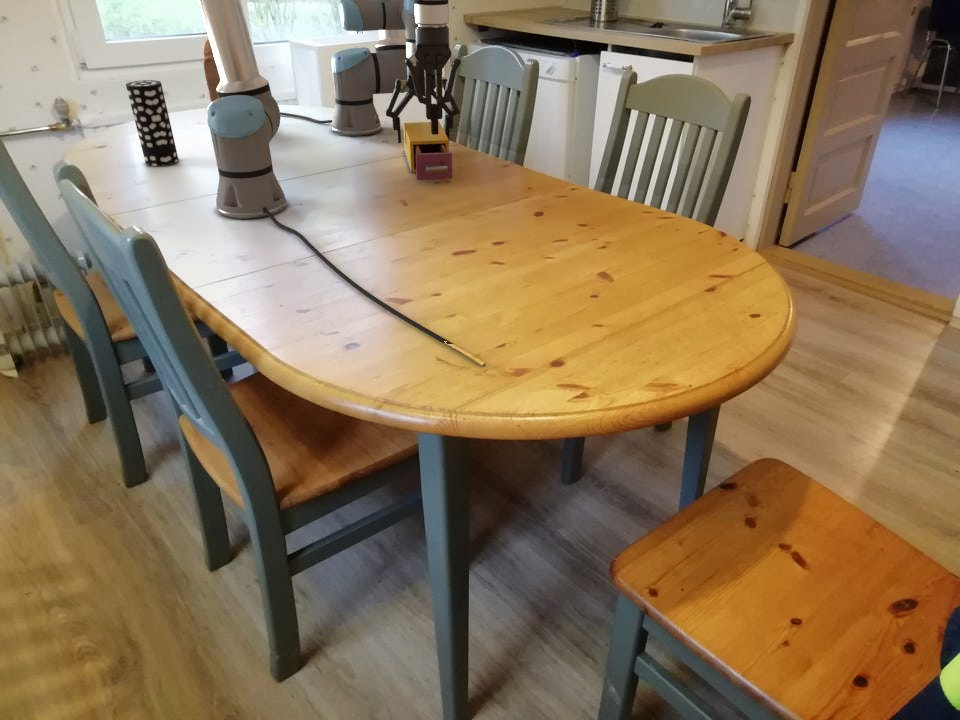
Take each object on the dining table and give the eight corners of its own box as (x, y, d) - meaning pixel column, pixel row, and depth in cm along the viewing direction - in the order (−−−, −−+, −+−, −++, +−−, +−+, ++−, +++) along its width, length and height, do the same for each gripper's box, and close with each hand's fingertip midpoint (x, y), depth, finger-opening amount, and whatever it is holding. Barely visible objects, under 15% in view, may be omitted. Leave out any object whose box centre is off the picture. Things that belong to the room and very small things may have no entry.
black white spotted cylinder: (184, 157, 190) (167, 80, 179) (169, 166, 183) (151, 87, 172) (155, 156, 190) (136, 79, 179) (139, 165, 183) (119, 86, 172)
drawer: (455, 185, 170) (455, 159, 167) (419, 186, 169) (418, 161, 166) (442, 157, 190) (442, 134, 186) (410, 159, 188) (409, 135, 185)
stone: (257, 139, 205) (240, 35, 190) (217, 142, 202) (197, 37, 187) (254, 125, 222) (238, 28, 208) (217, 127, 219) (198, 30, 205)
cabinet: (449, 171, 183) (449, 139, 178) (411, 172, 181) (409, 141, 177) (439, 150, 199) (439, 121, 194) (404, 152, 197) (403, 122, 193)
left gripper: (458, 22, 157) (458, 128, 170) (401, 23, 155) (406, 130, 168) (463, 26, 151) (463, 136, 164) (404, 27, 149) (409, 138, 162)
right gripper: (465, 55, 186) (465, 135, 197) (372, 57, 182) (378, 139, 193) (469, 60, 180) (469, 143, 191) (374, 62, 176) (379, 146, 187)
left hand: (434, 132), depth 166 cm, fingers closed
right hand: (423, 141), depth 192 cm, fingers open, 13 cm apart
